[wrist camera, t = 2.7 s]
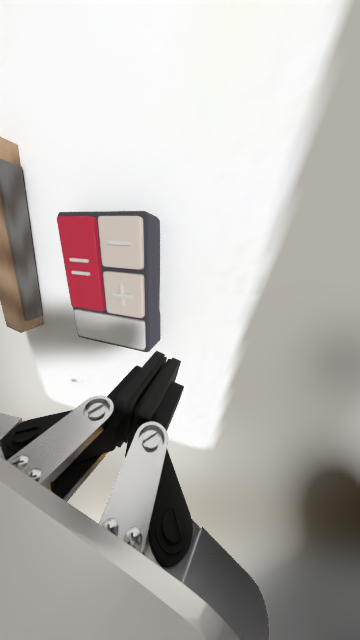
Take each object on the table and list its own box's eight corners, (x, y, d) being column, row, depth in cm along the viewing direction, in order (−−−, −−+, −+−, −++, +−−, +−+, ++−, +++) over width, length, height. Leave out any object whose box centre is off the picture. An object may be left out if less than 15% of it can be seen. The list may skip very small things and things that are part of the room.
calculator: (144, 208, 15) (146, 356, 20) (163, 218, 19) (160, 340, 24) (49, 209, 18) (72, 339, 23) (82, 218, 22) (96, 327, 27)
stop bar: (-2, 141, 20) (-45, 121, 17) (21, 145, 20) (-20, 126, 17) (30, 318, 31) (6, 326, 28) (45, 325, 30) (23, 334, 27)
